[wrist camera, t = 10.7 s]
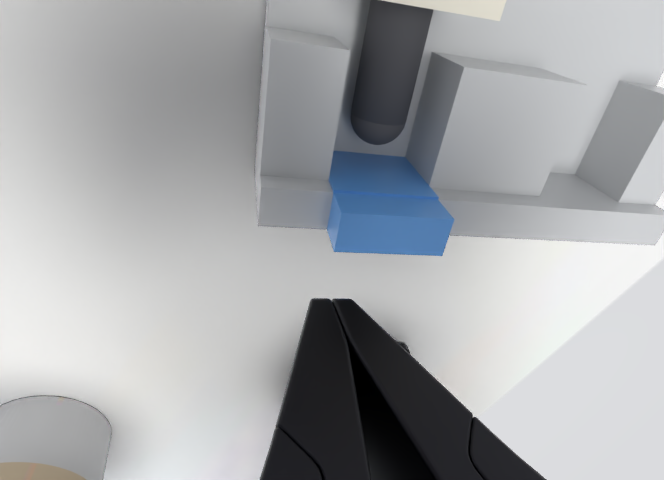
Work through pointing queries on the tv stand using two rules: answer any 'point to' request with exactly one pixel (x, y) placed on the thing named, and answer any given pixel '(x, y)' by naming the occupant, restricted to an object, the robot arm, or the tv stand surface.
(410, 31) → the cream cube with dome
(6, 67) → the tv stand surface
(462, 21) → the grey backboard with ledge
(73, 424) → the coffee cup
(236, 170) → the tv stand surface
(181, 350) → the tv stand surface
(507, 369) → the tv stand surface
